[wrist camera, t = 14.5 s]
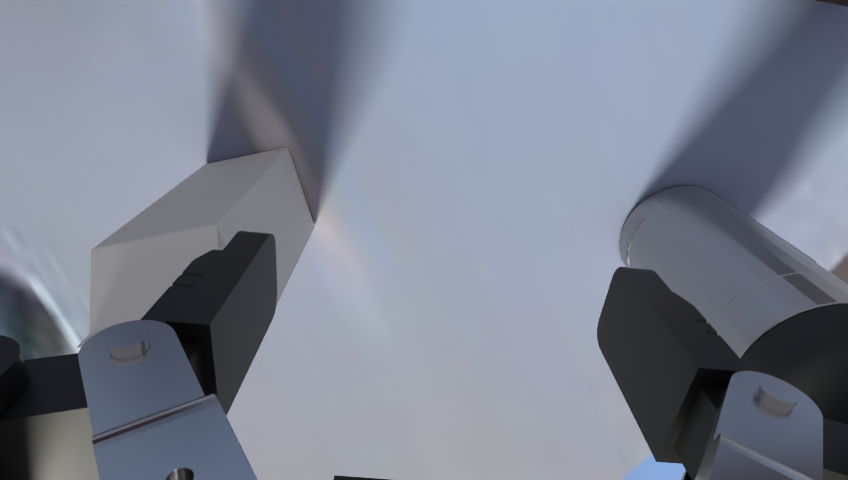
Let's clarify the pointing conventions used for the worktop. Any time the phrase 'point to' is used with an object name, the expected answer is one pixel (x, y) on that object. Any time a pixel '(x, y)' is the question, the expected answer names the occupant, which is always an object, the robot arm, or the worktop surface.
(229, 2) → the worktop surface
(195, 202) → the milk carton
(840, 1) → the coffee mug
